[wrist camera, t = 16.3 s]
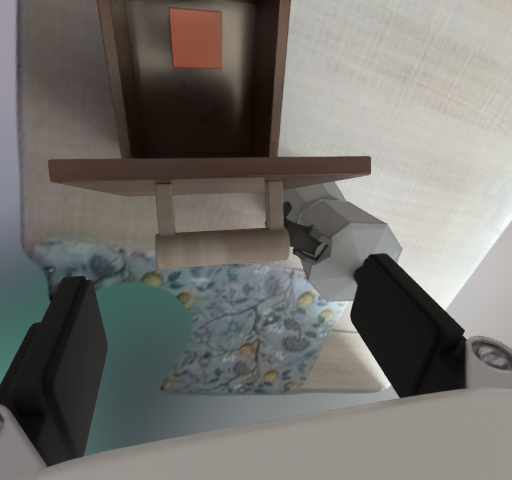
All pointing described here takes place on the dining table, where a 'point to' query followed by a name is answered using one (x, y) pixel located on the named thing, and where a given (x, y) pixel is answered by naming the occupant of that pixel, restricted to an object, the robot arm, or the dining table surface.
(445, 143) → the dining table surface
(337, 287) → the coffee maker
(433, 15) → the dining table surface
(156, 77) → the wooden trinket chest
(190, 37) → the block
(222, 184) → the lid
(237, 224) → the dining table surface
